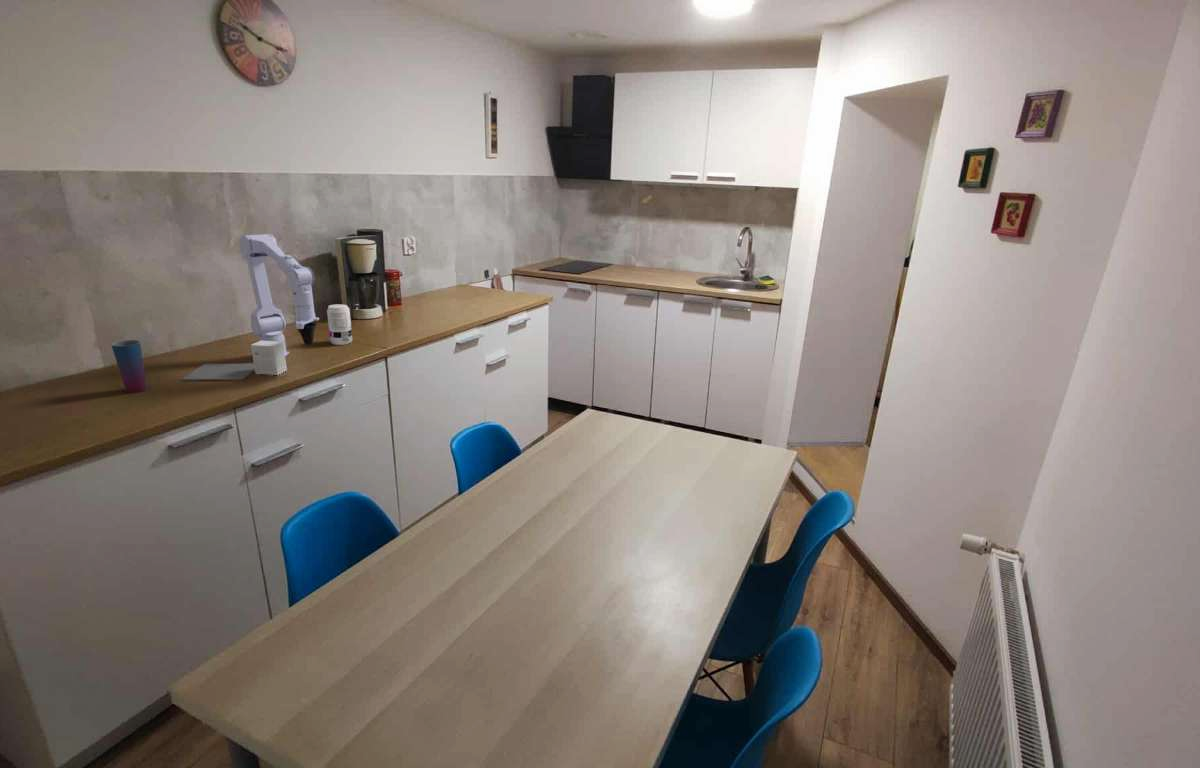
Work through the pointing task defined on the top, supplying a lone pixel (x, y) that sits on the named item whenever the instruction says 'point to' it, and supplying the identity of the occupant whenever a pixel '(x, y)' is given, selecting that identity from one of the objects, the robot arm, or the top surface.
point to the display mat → (220, 372)
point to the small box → (269, 357)
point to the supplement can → (339, 324)
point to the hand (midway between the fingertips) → (308, 344)
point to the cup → (130, 364)
